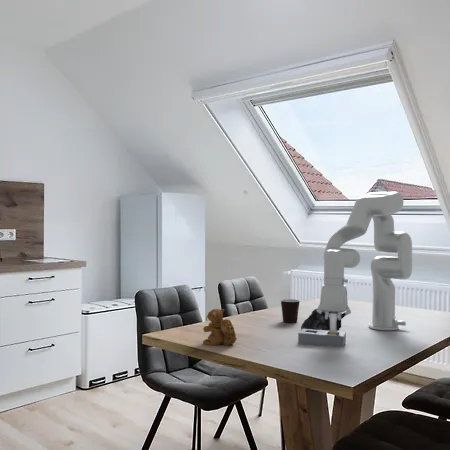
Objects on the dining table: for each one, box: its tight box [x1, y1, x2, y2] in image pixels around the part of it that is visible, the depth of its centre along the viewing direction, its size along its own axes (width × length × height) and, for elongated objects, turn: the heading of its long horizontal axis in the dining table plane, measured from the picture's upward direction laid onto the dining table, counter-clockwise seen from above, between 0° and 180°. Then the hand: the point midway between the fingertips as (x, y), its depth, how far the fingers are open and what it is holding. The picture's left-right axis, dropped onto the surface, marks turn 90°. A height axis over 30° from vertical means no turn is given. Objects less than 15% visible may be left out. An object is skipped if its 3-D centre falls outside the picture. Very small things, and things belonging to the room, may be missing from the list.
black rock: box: [300, 308, 329, 331], centre depth 234 cm, size 13×14×10 cm
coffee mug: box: [280, 298, 300, 324], centre depth 254 cm, size 12×9×10 cm
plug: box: [329, 311, 338, 335], centre depth 210 cm, size 3×3×11 cm
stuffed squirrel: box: [202, 308, 238, 346], centre depth 210 cm, size 10×14×13 cm
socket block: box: [297, 329, 347, 348], centre depth 212 cm, size 17×8×4 cm, turn 71°
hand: (333, 329), depth 211 cm, fingers closed on plug, 3 cm apart
